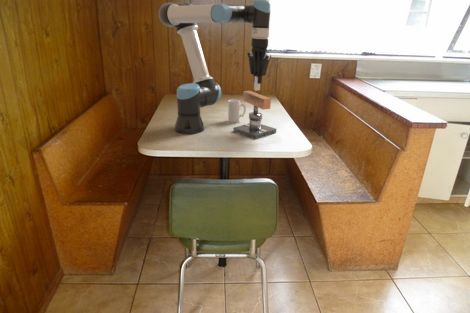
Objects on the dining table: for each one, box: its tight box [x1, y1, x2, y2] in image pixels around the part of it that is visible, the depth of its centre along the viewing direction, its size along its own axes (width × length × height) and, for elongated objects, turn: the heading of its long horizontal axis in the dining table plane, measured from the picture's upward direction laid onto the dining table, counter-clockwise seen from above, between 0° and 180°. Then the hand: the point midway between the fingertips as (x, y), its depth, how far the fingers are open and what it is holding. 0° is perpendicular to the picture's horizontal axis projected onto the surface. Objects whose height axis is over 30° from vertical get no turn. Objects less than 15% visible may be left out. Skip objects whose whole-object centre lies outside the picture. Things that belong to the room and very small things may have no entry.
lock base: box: [232, 119, 277, 140], centre depth 178 cm, size 16×16×7 cm
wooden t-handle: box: [242, 90, 272, 121], centre depth 174 cm, size 7×20×12 cm, turn 28°
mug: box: [227, 98, 247, 124], centre depth 194 cm, size 10×7×12 cm, turn 87°
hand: (257, 90), depth 162 cm, fingers closed
